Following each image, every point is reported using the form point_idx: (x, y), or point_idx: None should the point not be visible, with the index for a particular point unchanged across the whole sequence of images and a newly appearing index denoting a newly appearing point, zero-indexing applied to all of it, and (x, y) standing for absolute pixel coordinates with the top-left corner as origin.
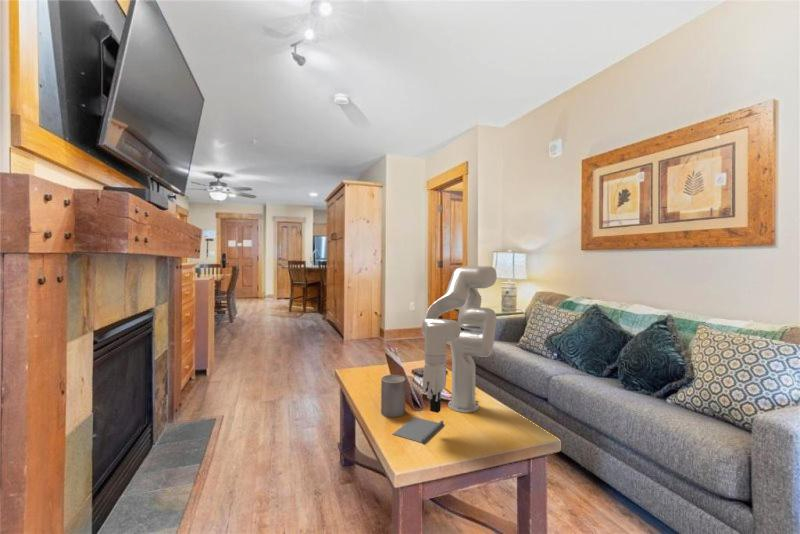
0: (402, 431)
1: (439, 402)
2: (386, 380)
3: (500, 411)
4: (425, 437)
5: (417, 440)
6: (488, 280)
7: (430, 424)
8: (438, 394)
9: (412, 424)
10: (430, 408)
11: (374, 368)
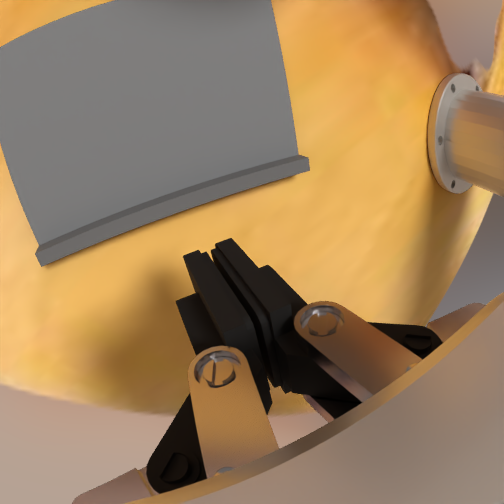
0: (41, 62)
1: (270, 376)
2: None
3: (461, 245)
4: (63, 253)
5: (31, 214)
6: None
7: (247, 113)
8: (348, 396)
9: (167, 28)
10: (188, 268)
11: None
